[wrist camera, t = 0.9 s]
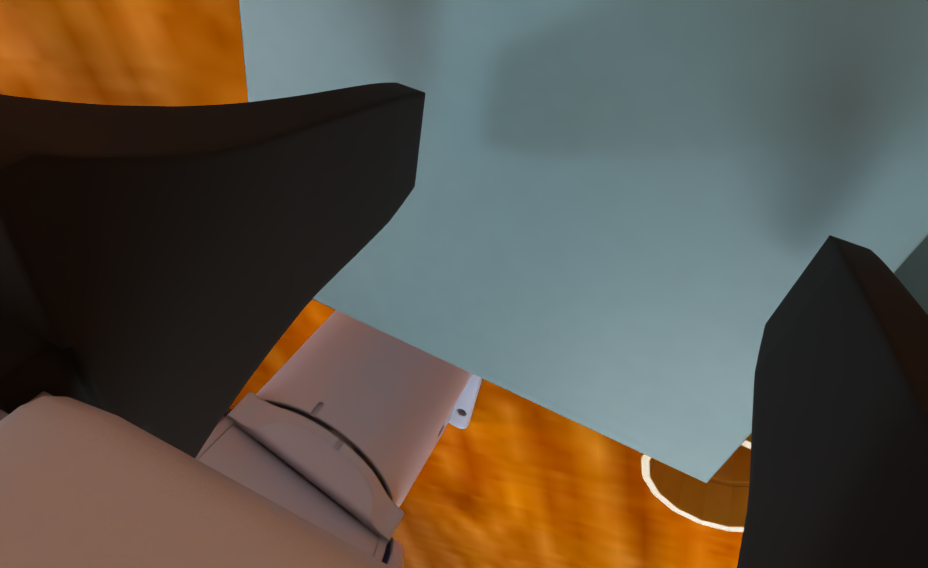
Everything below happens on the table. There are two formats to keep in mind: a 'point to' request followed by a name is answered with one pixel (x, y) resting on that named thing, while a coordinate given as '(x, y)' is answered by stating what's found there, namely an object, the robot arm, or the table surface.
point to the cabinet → (619, 185)
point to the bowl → (704, 490)
